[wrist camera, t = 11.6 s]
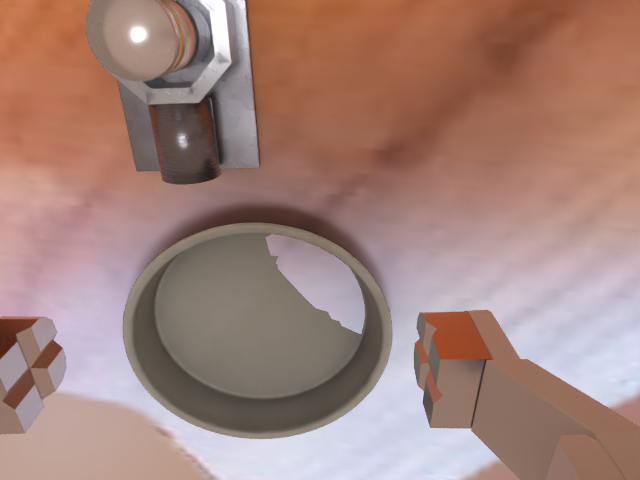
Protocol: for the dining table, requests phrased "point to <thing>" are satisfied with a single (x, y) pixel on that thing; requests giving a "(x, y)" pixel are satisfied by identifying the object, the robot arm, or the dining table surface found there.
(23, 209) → the dining table surface
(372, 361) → the cake pan
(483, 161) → the dining table surface
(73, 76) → the dining table surface
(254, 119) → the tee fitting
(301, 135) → the dining table surface
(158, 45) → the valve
